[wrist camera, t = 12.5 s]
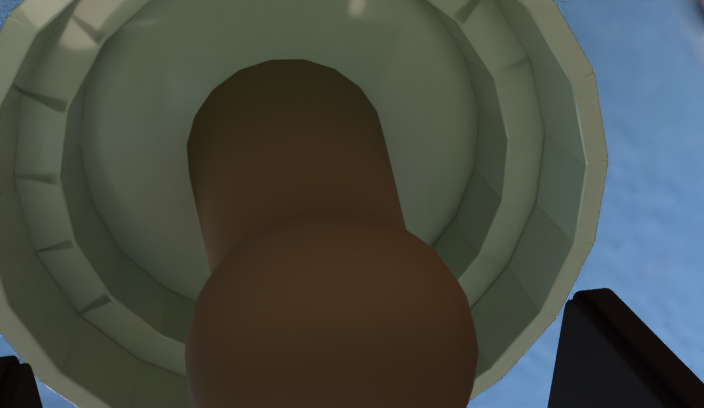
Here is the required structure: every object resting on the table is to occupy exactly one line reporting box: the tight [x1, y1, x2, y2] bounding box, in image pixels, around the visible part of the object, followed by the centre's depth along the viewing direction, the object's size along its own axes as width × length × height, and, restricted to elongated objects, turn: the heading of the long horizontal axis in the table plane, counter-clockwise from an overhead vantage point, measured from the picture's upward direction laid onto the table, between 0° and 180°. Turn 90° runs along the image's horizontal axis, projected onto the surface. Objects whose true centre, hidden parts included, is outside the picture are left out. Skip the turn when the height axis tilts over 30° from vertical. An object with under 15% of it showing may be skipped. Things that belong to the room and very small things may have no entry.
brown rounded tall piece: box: [185, 59, 479, 408], centre depth 15 cm, size 6×6×11 cm
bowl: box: [0, 0, 608, 408], centre depth 18 cm, size 15×15×6 cm
